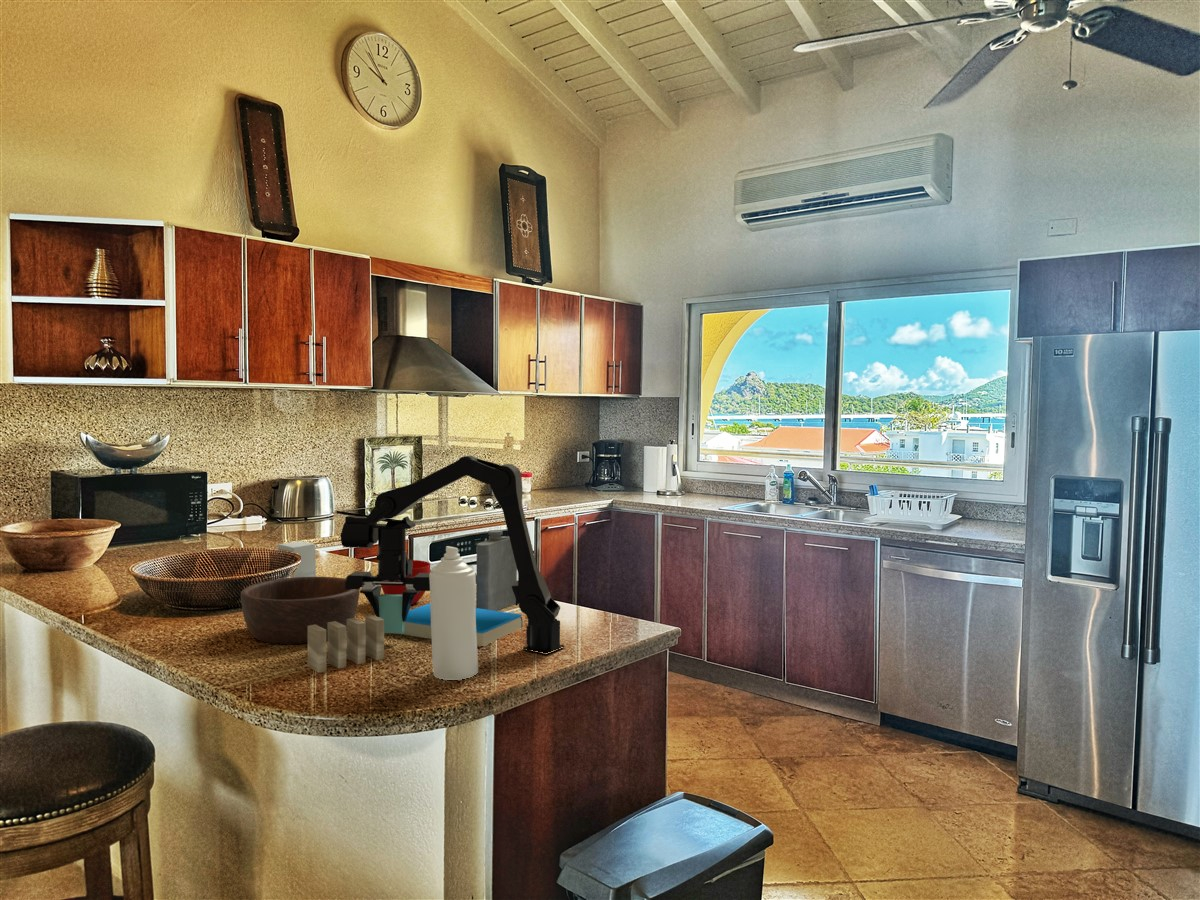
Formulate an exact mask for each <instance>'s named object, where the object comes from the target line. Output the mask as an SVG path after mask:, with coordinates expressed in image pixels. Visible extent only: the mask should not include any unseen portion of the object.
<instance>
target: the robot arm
mask: <svg viewBox="0 0 1200 900" xmlns="http://www.w3.org/2000/svg"><path fill="white" fill-rule="evenodd" d="M464 477H470V478H472V479H474V480H476V481H478V482H480V483H483V484H486V485H489V486H490V489H491V491H492V494H493V496H494V498H495V500H496V501H497V504H499V506H500V509H501V510H502V513H503V517H504V521H505V525H506V530H507V533H508V536H509V538H510V542H511V546H512V550H513V554H514V559H515V563H516V567H517V581H516V582H515V584H514V585H513V586H512V590H513V592H514V595H515V598H516V604H515V605H514V606H518V607H519V610H520V612H521V613H523V614H524V615H526V618H527V625H526V630H525V631H526V632H525V633H526V637H525V638H526V642H525V643H526V646H522V650H523V649H527V650H533V651H538V652H543V653H548V652H551V651H553V650H556V649H559V648H561V647H564V648H565V645H563V644H561V620H558V619H557V616H558V615H559V613H560V610H561V606H560V605H559V603H558V602H556V601H555V599H553V598H552V596H551V592H550V589H549V587H548V584H547V583H546V580H545V578H544V576H543V575H542V573H541V572H540V570H539V568H538V565H537V562H536V557H535V553H534V549H533V545H532V540H531V536H530V532H529V527H528V523H527V521H526V516H525V511H524V508H523V507H524V506H523V477H522V473H521V471H520V469H519V467H517V466H516V465H514V464H511V463H506V464H505V463H504V464H498V463H495V462H491V461H488V460H483V459H481V458H477V457H475V456H473V455H465V456H461V457H460V458H459V459H457V460H456V461H454V462H453V463H450V464H448V465H447V466H444V467H442V468H440V469H438V470H436V471H434V472H433V473H430V474H428V475H426V476H425V477H422V478H420V479H419V480H417V481H415V482H412V483H410V484H407V485H403V486H400V487H396V488H392V489H390V490H386V491H383V492H380V493H379V494H378V495H377V496H376V497H375V502H374V506H373V508H372V509H371V511H370V512H369V514H368V515H367V516H356V515H348V516H345V518H344V520H345V521H344V523H343V525H342V527H341V528H342V529H341V532H340V542H341V545H342V546H343V548H354V549H355V548H356V549H360V548H361V549H371V548H373V547H374V545H375V544H377V543H378V544H377V555H376V561H377V573H376V575H372V573H371V571H360V570H359V571H357V570H355V571H353V572H352V573H349V574H348V575H347V576H346V577H345V578H344V579H345V589H360V593H359V594H363V595H364V596H365V597H366V599H367V601H368V602H369V604H370V607H371V609H372V611H373V612H374V614H375V615H374V616H377V617H379V596H380V595H381V594H382V593H381V592H382V585H400V586H406V590H405V591H404V592H403V595H402V621H403V622H404V621H405V620H406V618H407V615H408V612H409V610H411V609H410V608H411V606H412V605H411V603H412V601H413V598H414V596H415V595H416V594H418V593H419V592H420V591H425V592H430V580H429V573H419V574H418V575H416V576H415V577H406V576H411V575H412V567H413V561H411V560H412V559H410V558H408V551H407V550H406V547H407V546H406V540H407V539H406V538H407V535H406V534H407V533H406V532H407V530H410V529H412V528H415V527H416V523H415V522H414V521H412V520H411V519H410V518H409V516H404V517H403V518H402V519H392V518H396V517H399V516H401V515H403V514H405V513H406V512H407V511H410V509H411V508H413V507H414V506H415V505H416V504H418V503H419V501H421V500H422V499H424V498H426V497H427V496H429V495H431V494H434V493H435V492H437V491H439V490H441V489H443V488H445V487H447V486H449V485H451V484H453V483H455V482H457V481H459V480H460V479H461V480H462V479H463V478H464ZM384 520H388V521H387V522H386V523H379V522H381V521H382V522H383V521H384ZM384 580H385V581H384ZM386 580H387V581H386ZM388 580H389V581H388ZM527 650H526V651H527Z"/></svg>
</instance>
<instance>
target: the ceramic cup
mask: <svg viewBox="0 0 1200 900" xmlns="http://www.w3.org/2000/svg"><path fill="white" fill-rule="evenodd" d="M410 560H411V561H413V567H412V575H411V576H406V577H415V576H416V575H418V574H419V573H430V572H431V571H430V569H431V563H430V562H428V561H424V560H417V559H410ZM384 581H385V580H384ZM386 581H387V580H386ZM388 581H389V580H388ZM405 590H406V586H400V585H382V587H381V591H382V592H383V594H394V595H403V592H404V591H405ZM425 593H426V591H420V592H419V593H418V594H416V595H415V596H414V598H413V601H412V603H411V604H412V605H415V603H416V604H418V603H419V601H420V600H421V598H423V596H424V595H425ZM417 602H418V603H417Z"/></svg>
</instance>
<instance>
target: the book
mask: <svg viewBox="0 0 1200 900" xmlns="http://www.w3.org/2000/svg"><path fill="white" fill-rule="evenodd" d="M522 627H523V617H522V614H521V613H515V612H508V611H500V610H497V611H493V610H486V609H479V608H476V636H477V647H480V646H484V647H486V646H488V644H489V643H491V642H493V641H495V640H497V639H499V638H501V637H503V636H505V635H507V634H510V633H511V632H514V631H516V630H518V629H520V628H522ZM520 630H521V629H520ZM518 631H519V630H518ZM516 632H517V631H516ZM514 633H515V632H514ZM397 634H399V635H405V636H412V637H416V638H417V637H418V638H425V639H430V640H432V637H431V607H430V603H427V604H424V605H420V606H418V607H416V608H413V609H409V612H408V615H407V618H406V620H405V621H404V632H403V633H397ZM510 635H511V634H510ZM505 637H506V636H505ZM503 638H504V637H503ZM501 639H502V638H501ZM499 640H500V639H499ZM497 641H498V640H497ZM495 642H496V641H495ZM493 643H494V642H493ZM491 644H492V643H491ZM489 645H490V644H489Z"/></svg>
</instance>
